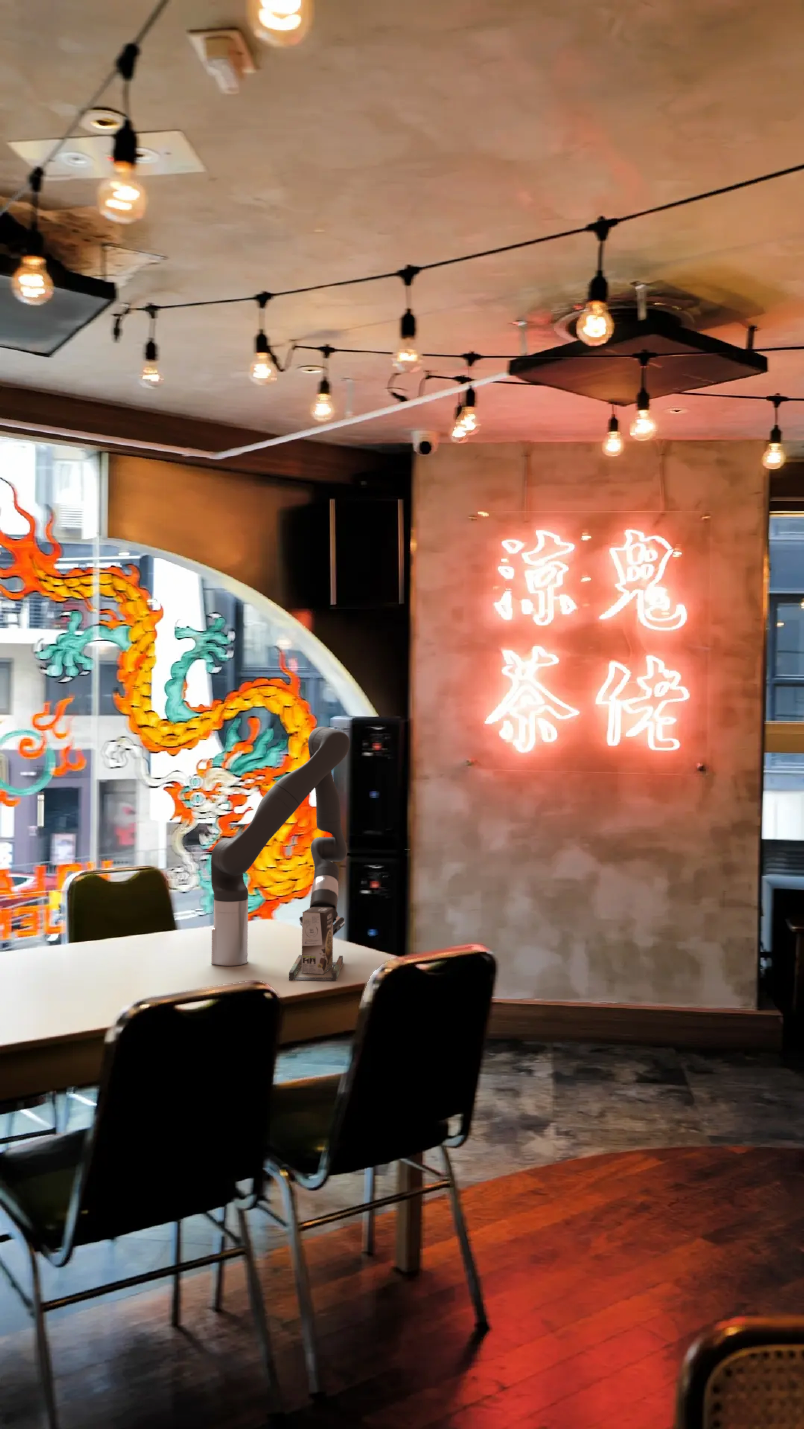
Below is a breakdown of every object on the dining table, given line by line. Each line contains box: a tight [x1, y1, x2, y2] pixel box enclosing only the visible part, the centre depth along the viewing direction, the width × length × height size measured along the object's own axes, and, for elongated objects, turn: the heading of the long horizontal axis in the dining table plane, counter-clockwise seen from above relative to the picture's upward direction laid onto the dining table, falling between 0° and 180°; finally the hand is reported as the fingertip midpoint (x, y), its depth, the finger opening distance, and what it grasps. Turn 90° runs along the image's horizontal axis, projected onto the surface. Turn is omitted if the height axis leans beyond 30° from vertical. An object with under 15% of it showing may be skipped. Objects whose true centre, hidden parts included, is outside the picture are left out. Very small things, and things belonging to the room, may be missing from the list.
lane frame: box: [288, 954, 344, 982], centre depth 298 cm, size 12×21×2 cm, turn 178°
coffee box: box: [301, 907, 334, 975], centre depth 299 cm, size 9×6×16 cm
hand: (319, 948), depth 304 cm, fingers closed
